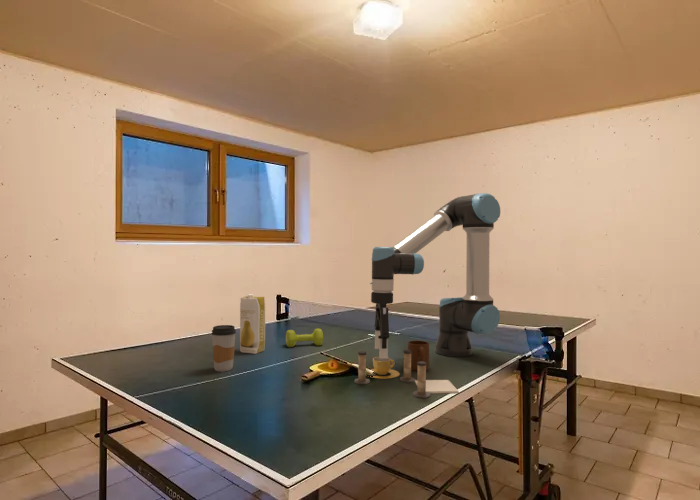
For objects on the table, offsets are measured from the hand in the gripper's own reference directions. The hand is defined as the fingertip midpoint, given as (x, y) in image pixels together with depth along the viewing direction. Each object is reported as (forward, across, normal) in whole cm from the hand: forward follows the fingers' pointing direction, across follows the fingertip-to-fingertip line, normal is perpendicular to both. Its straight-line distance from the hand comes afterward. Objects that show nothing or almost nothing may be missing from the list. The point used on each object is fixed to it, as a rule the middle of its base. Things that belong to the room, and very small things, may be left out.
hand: (380, 353), depth 147 cm
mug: (+7, -4, +14) cm, 17 cm away
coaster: (+7, +15, +16) cm, 23 cm away
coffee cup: (+8, -7, -55) cm, 56 cm away
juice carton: (+8, -33, -49) cm, 60 cm away
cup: (+8, 0, +1) cm, 8 cm away
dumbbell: (+8, -44, -28) cm, 53 cm away
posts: (+7, +15, +1) cm, 16 cm away
